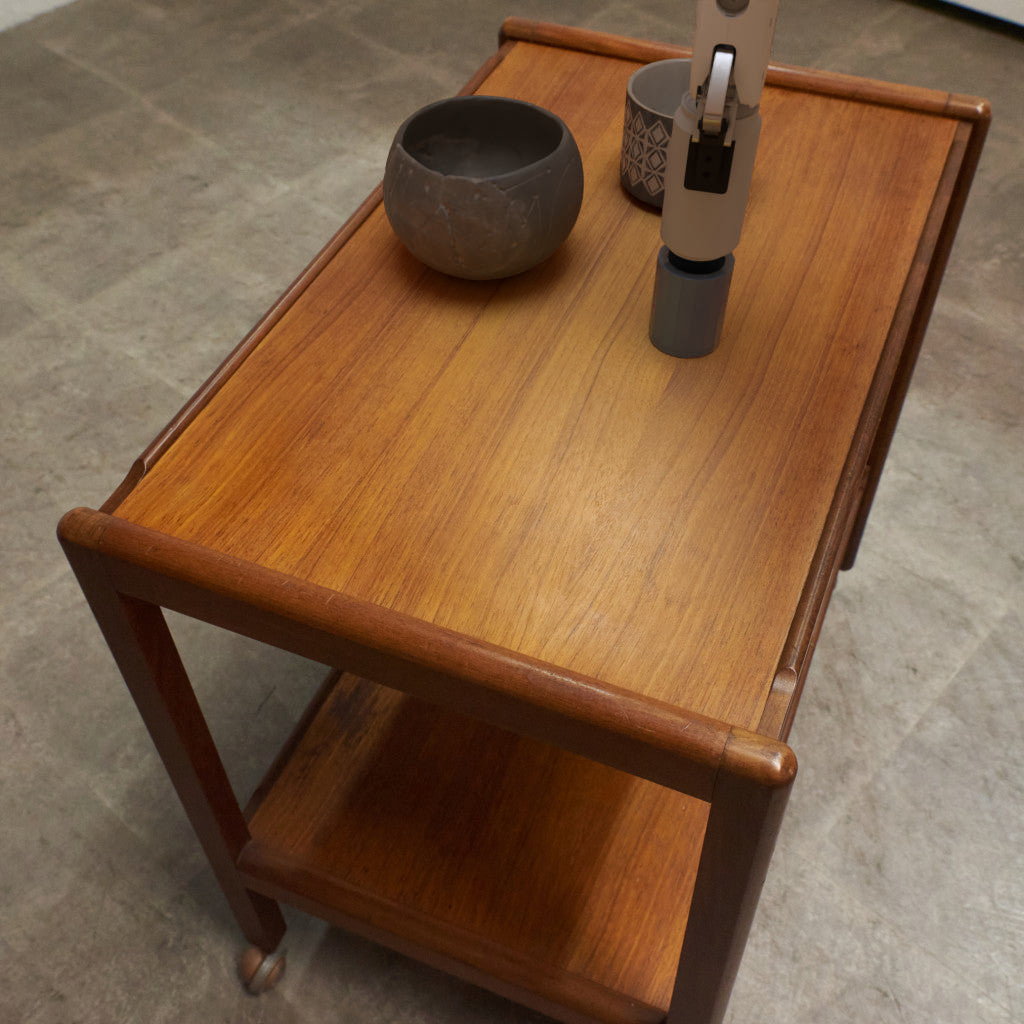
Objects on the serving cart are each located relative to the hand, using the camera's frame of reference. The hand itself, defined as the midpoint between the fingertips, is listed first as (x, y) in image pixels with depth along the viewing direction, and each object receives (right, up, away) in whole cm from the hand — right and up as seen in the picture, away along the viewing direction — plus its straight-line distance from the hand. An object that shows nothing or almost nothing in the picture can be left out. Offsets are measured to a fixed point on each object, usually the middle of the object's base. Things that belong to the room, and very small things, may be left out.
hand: (711, 163), depth 80 cm
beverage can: (0, -5, +5) cm, 7 cm away
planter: (+2, +7, +29) cm, 30 cm away
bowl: (-18, -2, +20) cm, 27 cm away
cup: (0, -11, +12) cm, 16 cm away
